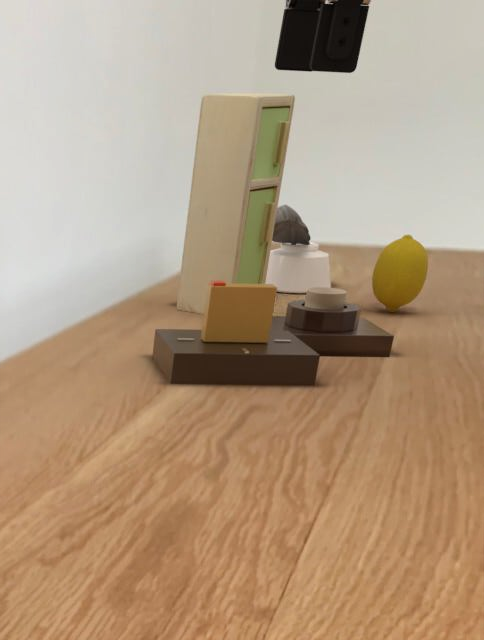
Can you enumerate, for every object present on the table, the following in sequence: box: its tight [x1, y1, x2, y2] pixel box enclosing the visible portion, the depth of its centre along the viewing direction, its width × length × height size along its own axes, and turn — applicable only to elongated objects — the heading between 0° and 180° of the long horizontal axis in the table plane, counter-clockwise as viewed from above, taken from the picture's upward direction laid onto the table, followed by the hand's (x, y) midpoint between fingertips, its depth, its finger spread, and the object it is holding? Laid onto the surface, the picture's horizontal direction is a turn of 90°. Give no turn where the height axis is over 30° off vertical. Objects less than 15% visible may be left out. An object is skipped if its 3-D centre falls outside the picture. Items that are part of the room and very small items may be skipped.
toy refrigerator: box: [176, 92, 296, 315], centre depth 119 cm, size 8×7×21 cm
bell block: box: [270, 298, 395, 358], centre depth 106 cm, size 11×9×4 cm
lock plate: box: [151, 328, 321, 387], centre depth 96 cm, size 12×10×3 cm
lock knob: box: [201, 280, 277, 343], centre depth 94 cm, size 6×2×5 cm, turn 89°
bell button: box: [304, 287, 348, 310], centre depth 105 cm, size 4×4×2 cm
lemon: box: [371, 234, 429, 313], centre depth 122 cm, size 6×6×8 cm
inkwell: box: [265, 204, 332, 294], centre depth 132 cm, size 9×18×10 cm, turn 150°
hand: (312, 71), depth 83 cm, fingers open, 9 cm apart
